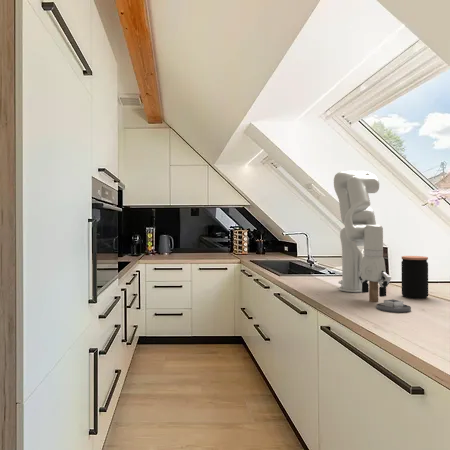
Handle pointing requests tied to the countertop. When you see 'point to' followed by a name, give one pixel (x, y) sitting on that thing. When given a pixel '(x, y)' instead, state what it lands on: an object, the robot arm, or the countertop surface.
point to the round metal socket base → (393, 306)
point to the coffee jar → (414, 277)
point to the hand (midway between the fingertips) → (373, 294)
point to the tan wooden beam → (373, 291)
